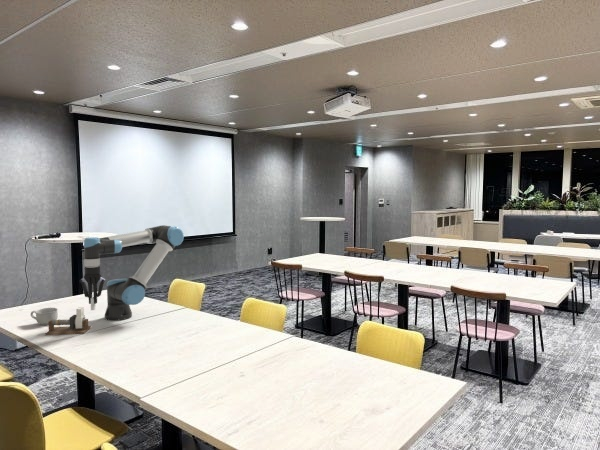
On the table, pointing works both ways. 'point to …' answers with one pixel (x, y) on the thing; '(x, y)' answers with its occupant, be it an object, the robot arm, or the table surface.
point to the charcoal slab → (72, 322)
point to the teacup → (45, 315)
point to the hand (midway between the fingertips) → (93, 309)
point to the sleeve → (79, 317)
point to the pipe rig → (66, 330)
